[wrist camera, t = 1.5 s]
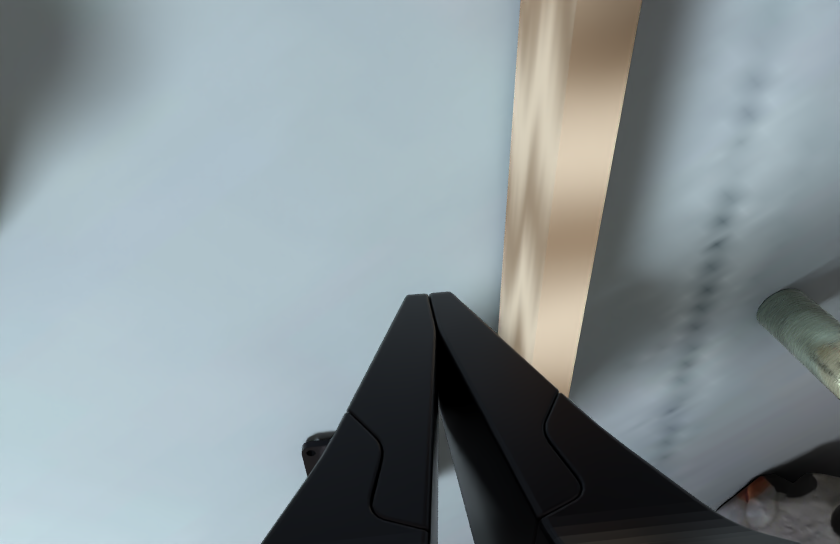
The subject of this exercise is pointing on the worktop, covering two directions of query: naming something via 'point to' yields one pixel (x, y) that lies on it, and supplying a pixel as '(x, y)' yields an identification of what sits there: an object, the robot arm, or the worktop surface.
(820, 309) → the gate posts
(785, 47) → the worktop surface
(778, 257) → the worktop surface
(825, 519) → the grey lumpy mass
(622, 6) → the light brown wooden plank
